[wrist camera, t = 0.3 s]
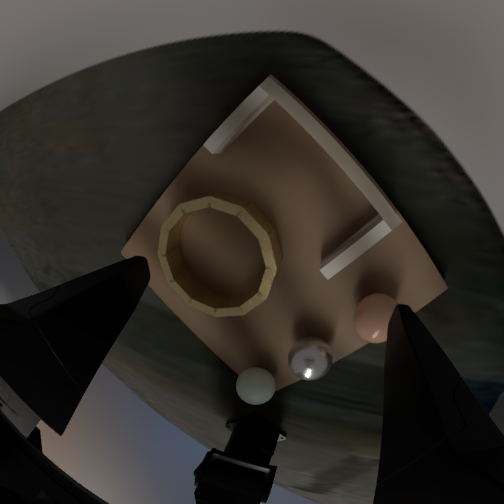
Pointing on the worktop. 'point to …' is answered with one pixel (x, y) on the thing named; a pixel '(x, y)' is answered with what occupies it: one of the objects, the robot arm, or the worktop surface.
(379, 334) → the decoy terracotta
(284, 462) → the worktop surface
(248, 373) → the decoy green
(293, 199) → the board
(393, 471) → the robot arm
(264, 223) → the race ring
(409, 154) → the worktop surface
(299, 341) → the steel ball
